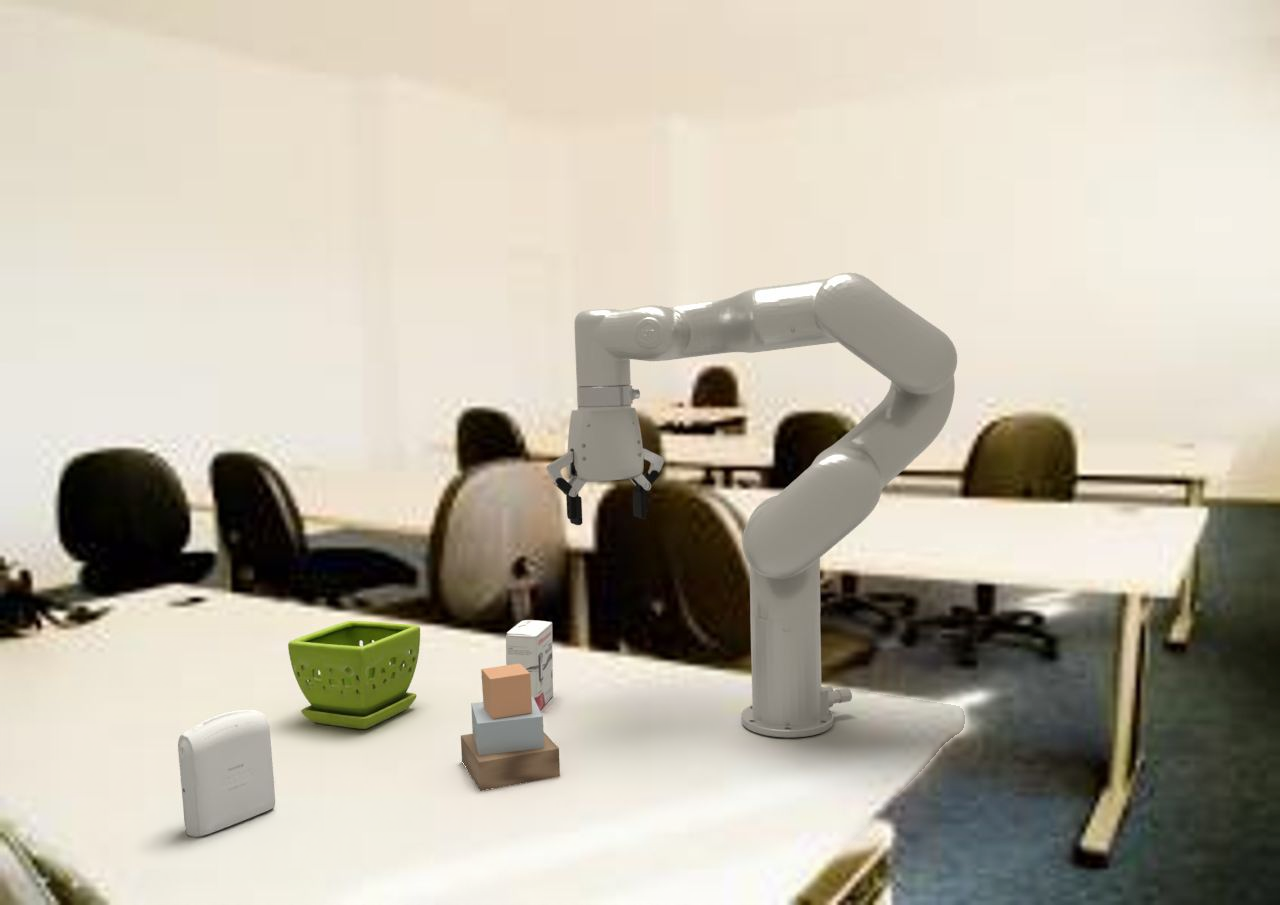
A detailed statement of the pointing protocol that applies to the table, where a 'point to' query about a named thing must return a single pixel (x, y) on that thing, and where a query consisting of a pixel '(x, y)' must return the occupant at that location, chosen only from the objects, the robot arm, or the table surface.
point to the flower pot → (356, 672)
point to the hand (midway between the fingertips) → (608, 520)
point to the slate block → (507, 731)
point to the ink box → (533, 656)
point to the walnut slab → (510, 764)
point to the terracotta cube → (506, 691)
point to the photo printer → (226, 771)
